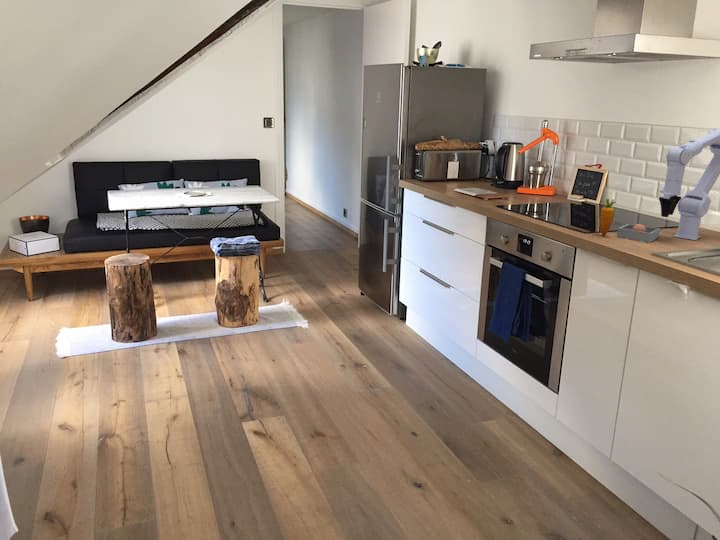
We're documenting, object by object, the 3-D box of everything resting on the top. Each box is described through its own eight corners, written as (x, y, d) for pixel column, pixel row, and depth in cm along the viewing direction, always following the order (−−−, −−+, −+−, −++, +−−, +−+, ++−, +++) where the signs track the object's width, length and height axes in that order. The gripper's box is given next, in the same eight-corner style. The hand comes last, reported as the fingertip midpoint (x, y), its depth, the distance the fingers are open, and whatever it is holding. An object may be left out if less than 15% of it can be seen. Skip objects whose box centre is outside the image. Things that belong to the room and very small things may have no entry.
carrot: (607, 235, 236) (613, 197, 232) (612, 237, 231) (619, 199, 227) (594, 234, 236) (601, 196, 232) (600, 237, 231) (606, 198, 227)
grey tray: (627, 231, 244) (628, 223, 243) (658, 237, 237) (660, 228, 236) (616, 236, 233) (618, 228, 232) (649, 242, 226) (651, 233, 225)
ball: (633, 234, 238) (635, 222, 237) (646, 236, 235) (648, 224, 234) (629, 236, 235) (631, 223, 233) (642, 238, 232) (645, 225, 230)
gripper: (667, 177, 235) (660, 211, 239) (657, 180, 224) (650, 216, 228) (687, 179, 231) (679, 214, 234) (678, 182, 220) (671, 219, 223)
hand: (666, 215), depth 231 cm, fingers open, 7 cm apart
